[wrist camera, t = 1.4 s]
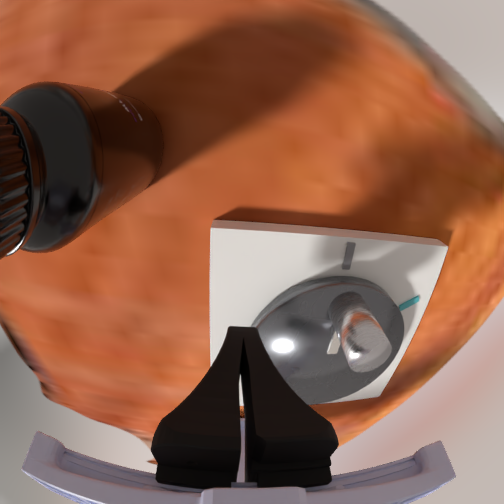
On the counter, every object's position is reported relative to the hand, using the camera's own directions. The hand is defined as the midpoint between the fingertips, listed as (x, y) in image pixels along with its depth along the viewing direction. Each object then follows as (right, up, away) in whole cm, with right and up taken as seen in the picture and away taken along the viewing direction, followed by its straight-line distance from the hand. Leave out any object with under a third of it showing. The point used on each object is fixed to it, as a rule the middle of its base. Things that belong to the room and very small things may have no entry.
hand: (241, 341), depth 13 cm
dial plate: (+6, -2, +8) cm, 10 cm away
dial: (+6, -3, +7) cm, 9 cm away
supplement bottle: (-8, +11, +2) cm, 14 cm away
